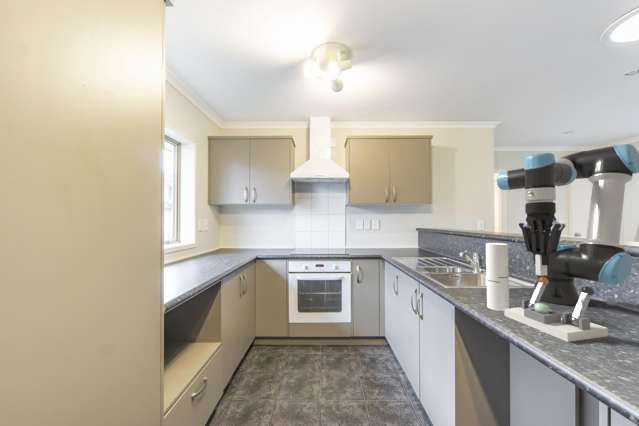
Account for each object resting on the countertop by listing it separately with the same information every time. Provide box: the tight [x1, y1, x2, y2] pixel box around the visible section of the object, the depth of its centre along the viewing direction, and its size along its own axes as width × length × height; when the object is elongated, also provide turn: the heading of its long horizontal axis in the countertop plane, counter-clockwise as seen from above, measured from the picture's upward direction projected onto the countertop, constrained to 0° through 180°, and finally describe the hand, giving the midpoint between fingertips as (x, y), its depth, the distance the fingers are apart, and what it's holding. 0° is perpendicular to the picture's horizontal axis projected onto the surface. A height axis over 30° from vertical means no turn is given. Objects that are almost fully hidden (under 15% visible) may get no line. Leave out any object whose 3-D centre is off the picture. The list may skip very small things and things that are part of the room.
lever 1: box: [525, 277, 549, 308], centre depth 91 cm, size 3×3×13 cm
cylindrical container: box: [485, 242, 510, 312], centre depth 101 cm, size 7×7×25 cm
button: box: [534, 302, 550, 314], centre depth 84 cm, size 4×4×3 cm
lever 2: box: [567, 286, 595, 326], centre depth 78 cm, size 3×3×13 cm
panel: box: [503, 298, 609, 343], centre depth 85 cm, size 15×20×6 cm
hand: (541, 274), depth 84 cm, fingers closed
